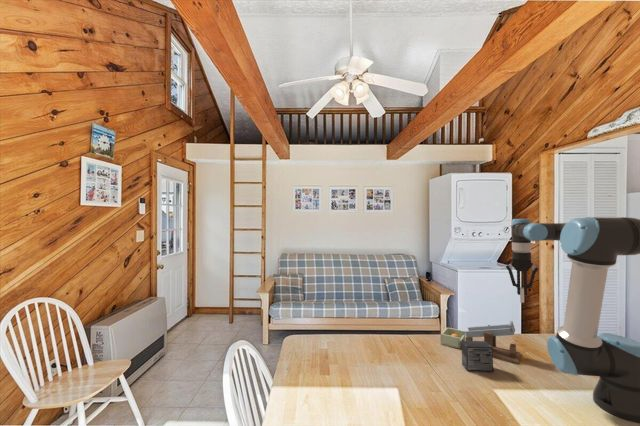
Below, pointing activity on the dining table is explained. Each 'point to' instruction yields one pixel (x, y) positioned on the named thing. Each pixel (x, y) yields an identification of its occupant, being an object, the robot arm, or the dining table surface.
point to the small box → (477, 356)
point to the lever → (491, 330)
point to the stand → (500, 349)
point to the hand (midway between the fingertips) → (522, 301)
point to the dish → (452, 338)
